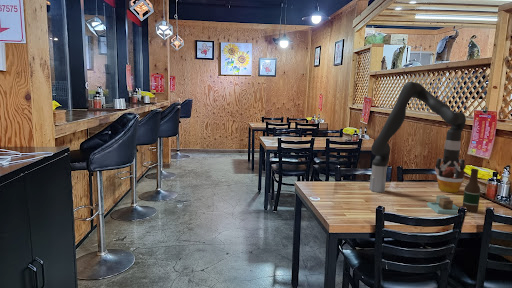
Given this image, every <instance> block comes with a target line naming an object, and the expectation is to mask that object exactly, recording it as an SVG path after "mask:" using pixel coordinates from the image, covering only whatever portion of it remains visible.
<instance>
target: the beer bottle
mask: <svg viewBox="0 0 512 288" xmlns="http://www.w3.org/2000/svg"><path fill="white" fill-rule="evenodd" d="M470 171H471V172H470V175H469V181H468V183H467V184H466V185H465V187H464V190H463V198H462V199H463V200H462V207H466V208H467V212H466V213H472V214H473V213H474V214H475V213H478V211H479V205H480V199H481V198H480V197H481V187H480V185H479V181H478V177H479V176H478V175H479V169H478V168H471V169H470ZM462 207H461V208H462Z"/></svg>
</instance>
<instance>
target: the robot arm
mask: <svg viewBox="0 0 512 288" xmlns="http://www.w3.org/2000/svg"><path fill="white" fill-rule="evenodd" d="M397 97H398V98H397V100H396V102H395V104H394V106H393V108H392V110H391V112H390V113H389V115H388V117H387V119H386V121H385V123H384V125H383V127H382V128H381V130H380V133H379V134H378V136H377V137H376V139H375V140H374V142H373V143H372V145H371V153H372V155H374V156H375V157H374V159H373V160H372V163H371V175H370V176H369V190H370V191H371V192H375V193H385V191H386V180H387V168H388V162H389V160H390V152H391V147H390V144H389V143H388V142H389V141H390V139H391V138H393V136H394V135H395V134H396V133H397V132H398V131H399V130H400V128H401V126H402V125H403V123H404V121H405V118H406V114H407V107H408V104H409V102H410V101H411V99H417V100H419V101H422V102H423V103H424V104H425V105H426V106H427V107H428V108H429V109H430V110H431V111H432V112H434V113H435V114H436V115H438V116H440V118H441V119H442V120H443V121H444V123H446V124H448V125H450V126H451V127H450V128H449V129H448V130H447V131H446V136H445V137H446V138H445V142H444V150H443V157H442V158H440V157H437V158H436V164H435V167H436V168H437V169H439V176H440V177H442V176H443V169H444V168H446V167H448V168H449V167H451V168H452V167H455V169H456V173H455V177H456V178H458V177H459V175H460V171H462V170H464V171H465V169H464V165H466V164H465V162H466V161H465V159H462V158H460V154H461V153H460V152H461V144H462V143H461V141H462V140H461V139H462V133H463V130H464V129H465V125H466V123H467V118H466V117H467V116H466V115H465V114H464V112H460V111H454V110H452V109H451V106H449V105H448V104H447V103H446V102H444V101H442V100H441V99H439V98H438V97H436V96H434V95H433V94H432V93H430V92H429V91H428V90H427V89H426V87H424V86H423V85H422V84H421V83H419V82H414V81H407V82H406V83H405V84H404V85H403V86H402V88H401V90H400V92H399V95H398V96H397ZM458 162H459V163H460V165H459V166H458V165H457V163H458ZM459 167H460V168H459Z"/></svg>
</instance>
